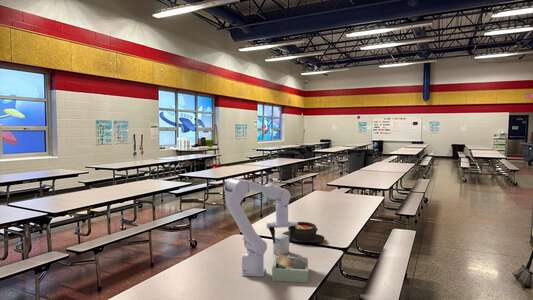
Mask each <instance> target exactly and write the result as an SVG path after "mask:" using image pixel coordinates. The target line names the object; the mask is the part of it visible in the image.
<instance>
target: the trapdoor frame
mask: <svg viewBox="0 0 533 300" xmlns="http://www.w3.org/2000/svg"><path fill="white" fill-rule="evenodd" d="M287 257H288V258H289V259H291V260H294V259H295V257H296V256H290V255H287ZM302 257H303V256H302ZM303 258H305V259H306V260H307V264H306V266H305V267H304V269H289V268H288V267H287V269H284V268H278V263H277V260H278V256H277V255H275V256H274V258H273V263H272V267H271V282H287V283H288V282H289V283H306V284H308V283H309V258H308V257H307V256H306V257H305V256H304V257H303Z"/></svg>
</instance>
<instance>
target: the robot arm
mask: <svg viewBox="0 0 533 300" xmlns="http://www.w3.org/2000/svg"><path fill="white" fill-rule="evenodd" d="M223 191H224V194H225V195H224V197H225V199H224V200H225V205H226V208H227V210H228V211H229V213H230V215H231V217H232V219H233V220H234V222H235V223H236V226H237V227H238V229H239V230H240V232H241V233H242V240H243V245H244V248H245V249H246V251H245V252H242V255H241V257H242V258H241V276H242V277H259V278H260V277H262V278H263V277H264V276H265V272H266V267H265V266H264V265H265V264H264V263H265V262H264V261H265V259H264V257H265V256H264V255H265V253H266V252H267V248H268V244H267V242H266V240H263V239H262V237H261V236H260V235H259V234H258V233H257V232H256V230H255V228H254V227H253V225H252V223H251V221H250V220H249V218H248V215H247V214H246V212H245V211H244V209H243V206H242V205H241V203H242V201H243V200H244V198H245V197H246V195H247V193H250V192H251V191H255V192H260V193H262V195H263V197H267V198H269V199H273V200H275V221H274V222H266V224H265V225H266V227H265V228H266V229H268V230H269V232H270V234H271V238H272V243H273V244H275V237H276V230H275V229H278V228H279V229H280V228H289V230H288V231H289V244H291V243H292V242H293V240H292V238H293V235H294V233H295V231H296V228H295V227H298V223H297V222H298V221H289V203H290V200H291V197H292V195H291V193H290V191H289V190H288V189H286V188H282V186H280V185H279V186H278V185H277V186H276V185H274V183H271V182H269V183H266V184H265V185H264V184H260V183H258V182H254V181H252V180H247V179H241V178H234V177H231V178H230V177H229V178H228V179H227V180H226V181H225V183H224V185H223Z"/></svg>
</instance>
